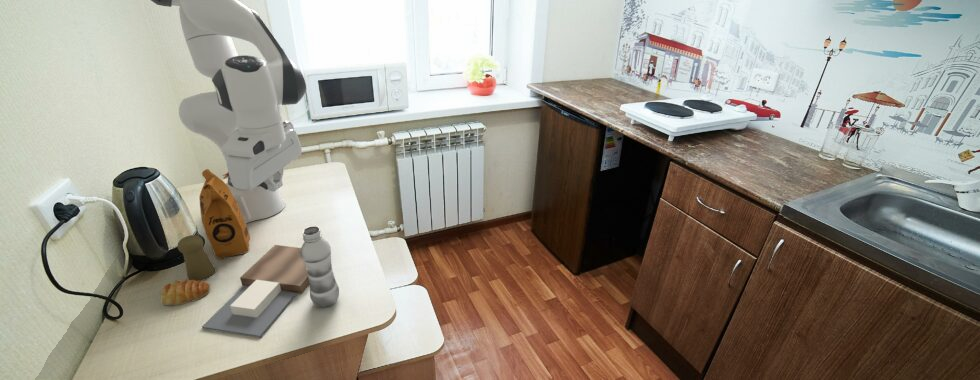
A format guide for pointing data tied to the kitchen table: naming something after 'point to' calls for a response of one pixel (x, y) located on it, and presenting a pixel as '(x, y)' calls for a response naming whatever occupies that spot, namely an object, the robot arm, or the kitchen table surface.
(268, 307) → the mat
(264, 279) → the stand
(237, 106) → the robot arm
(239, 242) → the coffee package
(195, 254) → the cork
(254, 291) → the tile
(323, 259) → the plastic bottle
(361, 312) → the kitchen table surface
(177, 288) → the pastry
